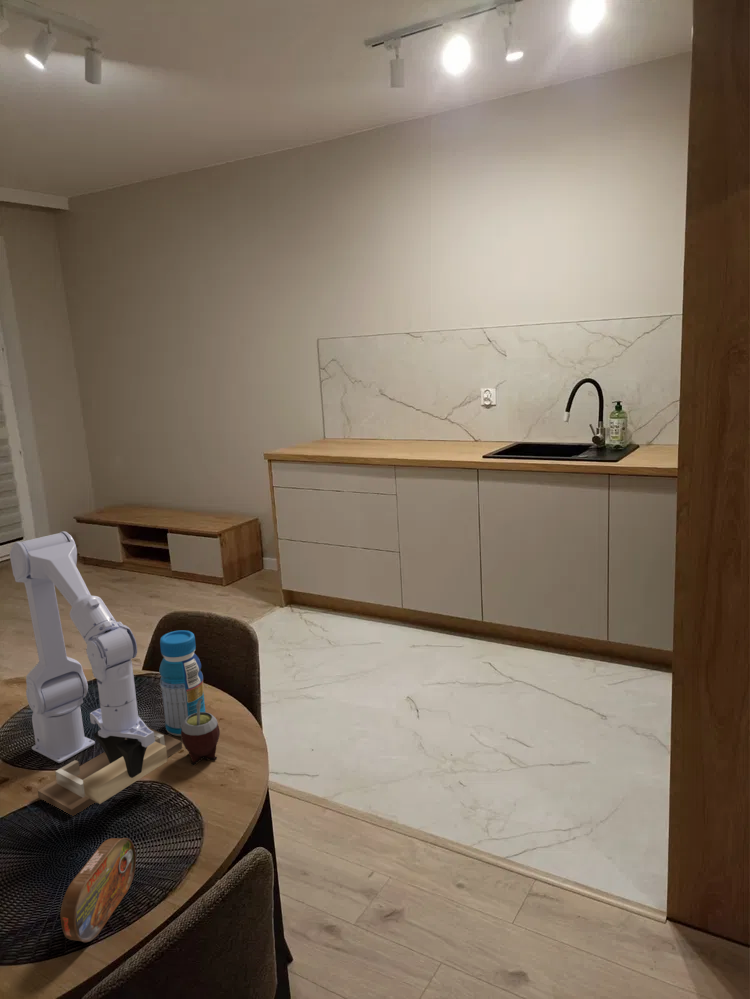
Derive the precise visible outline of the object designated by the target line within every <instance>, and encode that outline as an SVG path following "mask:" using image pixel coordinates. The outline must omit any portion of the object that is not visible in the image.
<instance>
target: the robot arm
mask: <svg viewBox="0 0 750 999" xmlns="http://www.w3.org/2000/svg"><path fill="white" fill-rule="evenodd" d="M9 558H10V563H11V569H12V575H13V577H14V581H15V583H23V584H24V587H25V592H26V596H27V597H26V598H27V601H28V602H27V603H28V608H29V613H30V619H31V623H32V629H33V634H34V640H35V646H36V650H37V651H36V652H37V656H38V662H37V664H36V665H34V667H33V668H31V670H30V671H29V672H28V673H27V674H26V676H25V677H26V678H25V683H26V688H25V695H26V700H27V704H28V706H29V707H30V709H31V711H32V716H31V722H32V728H33V734H34V741H35V742H34V743H35V744H34V745H33V746H31V750H33V751H34V752H37V753H38V754H40V755H43V756H44V757H46V758H48V759H50V760H52V761H54V762H56V763H58V764H60V763H63V762H65V761H66V760H68V759H70V758H72V757H74V756H75V755H78V754H79V753H81V752H83V751H84V750H86V749H88V748H90V747H92V746H94V745H95V744H96V742H95V740H96V741H97V742H98V744H99V745H100V746H101V747H102V749H103V752H105V753H106V755H107V757H108V760H109V762H110V764H111V763H112V762H114V761H116V760H117V759H119V758H121V757H122V756H123V758H124V760H125V764H126V768H127V772H128V775H129V777H131V778H133V777H135V776H136V775H138V774H140V773H141V772H142V765H143V759H144V755H145V752H146V749H147V746H149V745H151V744H152V743H154V742H155V737H154V732H153V731H151V730H150V729H149V728H150V727H149V726H148V725H146V723H145V722H144V721H143V720H142V718H141V717H140V716H139V712H138V710H139V709H138V702H137V695H136V686H135V676H134V670H133V669H134V668H133V662H132V659H135V658H136V657H137V654H138V644H137V640H136V637H135V635H134V633H133V631H132V630H131V628H130V627H129V626H128V625H127V624H126V625H125V624H123V623H122V622H121V620H119V621H117V620H116V619H115V617H114V616H113V614H112V613H111V611H110V610H109V608H108V606H107V605H106V604H105V602H104V601H103V599H102V598H101V597H100V596H98V595H92V594H91V592H90V591H89V588H88V587H87V584H86V582H85V580H84V578H83V577H82V574H81V573H80V570H79V569H78V567H77V561H78V550H77V545H76V542H75V540H74V538H73V536H72V535H71V534H69V532H67V531H64V530H62V531H59V533H54V534H49V535H46V536H45V535H44V536H41V537H36V538H32V539H27V540H24V541H15V542H14V543H13V544H12V547H11V548H10V550H9ZM56 589H57V590H58V591H59V593H60V594H61V595H62V596H63V598H64V599H65V600H66V602H67V603H68V604H69V605H70V606H71V608H70V610H69V618H70V619H71V621H72V622H73V625H74V626H75V628H76V630H77V631H78V632H79V634H80V635H81V637H82V639H83V640H84V642H85V644H86V648H85V651H86V655H87V658H88V661H89V663H90V666H91V670H92V671H91V673H92V675H93V677H94V678H95V679H96V683H97V684H96V685H97V691H98V697H99V698H98V699H99V706H100V708H97V709H95V710H93V711H91V712H89V718H90V719H89V720H90V723H91V724H92V725H96V724H97V726H98V727H99V730H97V731H96V732H94V733H93V738H94V739H95V740H93V739H91V738H89V737H87V736H85V731H84V725H83V724H84V723H83V717H82V711H81V705H82V704H83V703H84V700H83V699H84V698H86V697H87V694H88V692H89V690H88V689H89V685H88V680H87V678H86V676H85V672H84V670H83V665H82V664H81V663H80V661H78V660H77V659H75V658H73V657H70V656H67V650H66V645H65V644H66V643H65V638H64V633H63V628H62V627H63V626H62V622H61V616H60V610H59V605H58V599H57V594H56ZM148 727H149V728H148ZM125 738H127V740H125Z"/></svg>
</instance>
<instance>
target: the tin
mask: <svg viewBox="0 0 750 999" xmlns="http://www.w3.org/2000/svg"><path fill="white" fill-rule="evenodd" d="M136 852H137V851H136V847H135V845H134V843H133V840H132V839H130V838H127V837H122V838H119V837H117V838H116V837H114V838H113V837H111V838H108V839H106V840H104V841H103V842H101V844H100V845H99V847H98V848H97V849H96V851H95V852H94V853H93V854H92V855H91V856H90V858H89V859H88V861H86V863H85V864H84V866H82V868H81V870H79V871H78V873H77V874H76V875H75V877H74V878H73V879H72V880H71V882H70V883H69V885H68V887H67V888H66V891H65V892H64V893H65V894H64V896H63V898H62V902H61V906H60V913H59V916H60V923H61V924H60V925H61V930H62V932H63V934H64V937H65V938H66V939H68V940H71V941H78V942H82V943H90V942H92V941H93V940H95V939H96V938H97V937H98V936H99V934H100V933H101V931H102V930H103V929H104V926H105V925H106V924H107V922H108V921H109V919H110V918H111V916H112V915H113V914H114V912H115V911H116V909H117V907H118V906H119V905H120V903H121V902H122V900H123V899H124V897H125V896H126V895H127V893H128V892H129V889H130V887H131V885H132V882H133V880H134V876H135V871H136V866H137V865H136V864H137V863H136V862H137V856H136V855H137V853H136Z"/></svg>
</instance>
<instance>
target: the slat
mask: <svg viewBox="0 0 750 999" xmlns="http://www.w3.org/2000/svg"><path fill="white" fill-rule="evenodd" d="M168 761H169V760H168V758H167V751H166V746H165V745H162V744H160V743H158V742H156V741H155V742H154V743H152V744H151V745H149V746H147V749H146V752H145V755H144V759H143V765H142V772H141V773H140V774H138V775H136V776H135V777H133V778H131V777H129V775H128V772H127V768H126V764H125V760H124V758H123V756H122V757H121V758H119V759H117V760H116V761H114V762H112V763H111V764H109V765H107V766H106V767H104V768H102V769H101V770H99V771H97V772H96V773H94V774H92V775H90V776H89V777H87V778H85V779H84V780H83V785H84V792H85V796H86V797H88V798H90V799H92V800H93V801H95V802H96V804H99V805H101V804H103V803H104V802H105V801H108V800H109V799H111V798H112V797H113V796H116V795H117V794H118V793H120V792H121V791H123V790H124V789H126V788H127V787H129V786H131V785H132V784H134V783H135V782H137V781H139V780H140V779H142V778H143V777H145V776H146V775H148V774H150V773H151V772H153V771H154V770H156V769H158V768H159V767H161V766H162V765H163V764H165V763H167V762H168Z"/></svg>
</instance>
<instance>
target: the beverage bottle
mask: <svg viewBox="0 0 750 999" xmlns="http://www.w3.org/2000/svg"><path fill="white" fill-rule="evenodd" d="M159 645H160V653H161V656H162V657H163V658H162V660H161V662H160V666H159V675H160V676H161V677H160V680H159V686H160V689H161V694H162V704H163V713H164V725H165V730H166V731H167V733H168V734H170V735H172V736H177V737H181V729H182V725H183V723H184V721H185V719H186V718H187V717H188V716H190V715H192V714H194V713H197V708H196V705H197V702H198V700H200V699H202V701H201V708H200V712H206V704H205V703H206V702H205V694H204V693H205V692H204V675H203V672H202V671H201V669H202V663H201V661H200V658H199V656H198V655H197V654H196V653H195V651H196V647H197V646H196V645H197V644H196V636H195V633H193V632H192V631H190V630H183V629H182V630H174V631H170V632H167V633H165V634H163V635H162V636H161V637H160V640H159Z"/></svg>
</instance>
